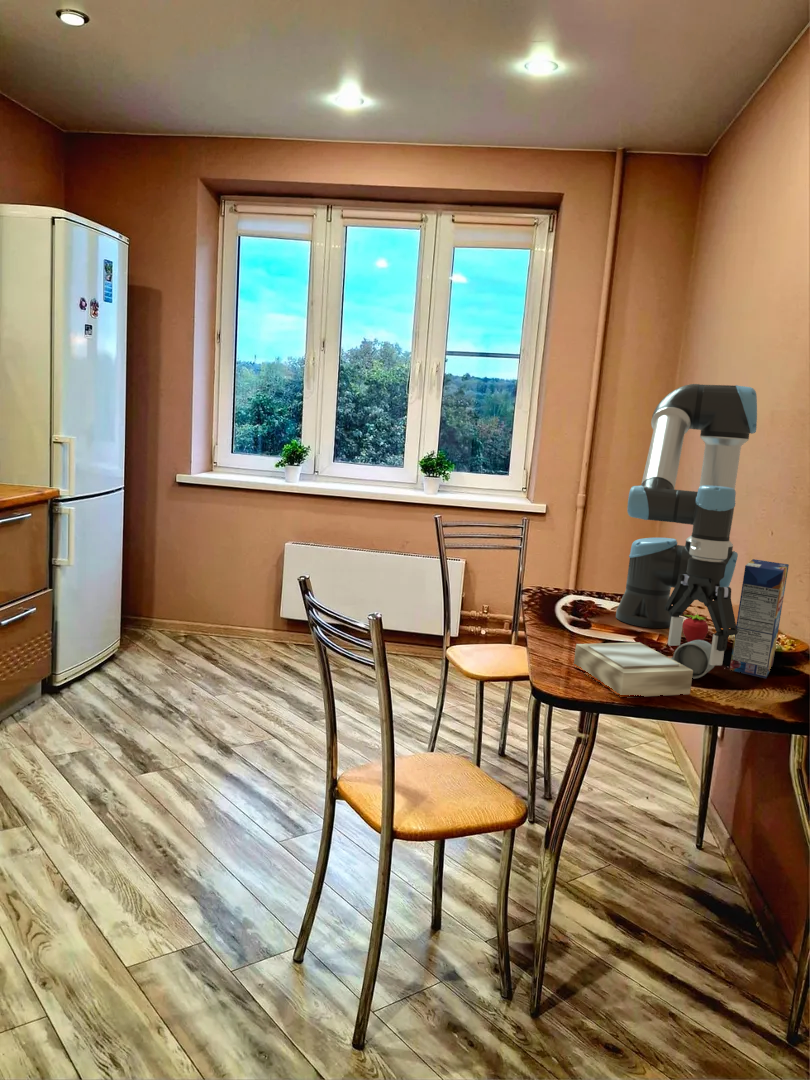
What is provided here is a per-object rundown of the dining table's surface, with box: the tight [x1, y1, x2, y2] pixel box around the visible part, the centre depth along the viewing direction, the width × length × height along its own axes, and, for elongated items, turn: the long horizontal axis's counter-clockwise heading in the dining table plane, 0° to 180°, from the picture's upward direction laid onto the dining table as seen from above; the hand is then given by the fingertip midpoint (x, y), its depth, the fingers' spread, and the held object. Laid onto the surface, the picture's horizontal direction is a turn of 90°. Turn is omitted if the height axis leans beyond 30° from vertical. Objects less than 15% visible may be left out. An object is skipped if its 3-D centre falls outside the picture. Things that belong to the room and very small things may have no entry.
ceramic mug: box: [669, 640, 716, 680], centre depth 158 cm, size 11×8×8 cm
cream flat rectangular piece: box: [573, 641, 693, 697], centre depth 150 cm, size 18×16×5 cm
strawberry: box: [682, 609, 709, 643], centre depth 176 cm, size 6×8×10 cm
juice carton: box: [729, 558, 790, 679], centre depth 163 cm, size 12×8×24 cm, turn 147°
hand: (693, 654), depth 156 cm, fingers open, 13 cm apart
